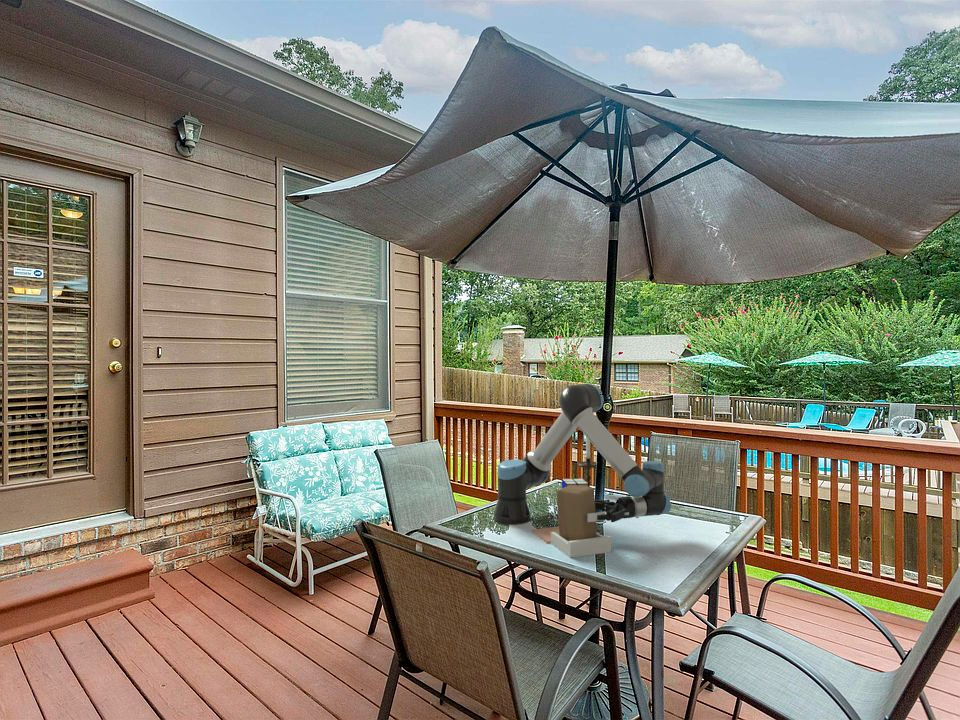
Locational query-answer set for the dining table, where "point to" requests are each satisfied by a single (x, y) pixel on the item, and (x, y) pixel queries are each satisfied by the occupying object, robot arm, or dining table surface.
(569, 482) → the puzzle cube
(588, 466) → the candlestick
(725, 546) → the dining table surface
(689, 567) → the dining table surface
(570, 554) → the lane rack
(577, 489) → the wooden block
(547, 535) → the terracotta mat
